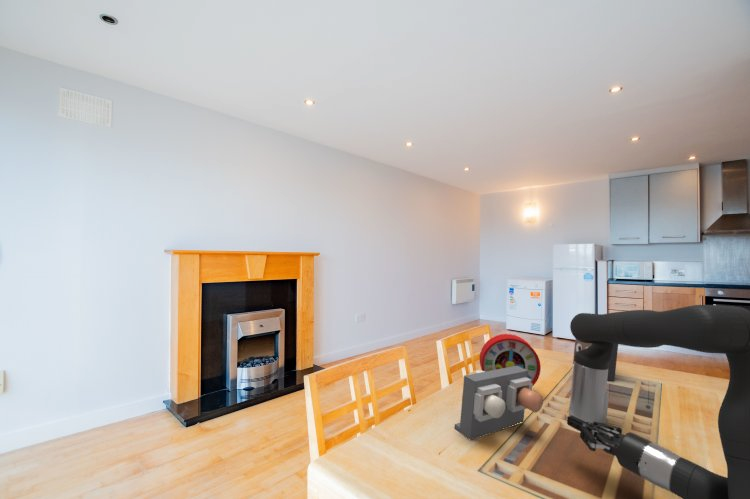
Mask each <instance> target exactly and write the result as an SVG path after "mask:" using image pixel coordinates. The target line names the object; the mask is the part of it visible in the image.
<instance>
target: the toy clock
mask: <svg viewBox="0 0 750 499" xmlns="http://www.w3.org/2000/svg"><path fill="white" fill-rule="evenodd" d="M479 365H480V369H481V371H485V372H486V371H491V370H497V369H502V368H507V367H513V366H519V367H521V368H523V369H526V370H528V378H529V379H531V384H533V385H532V387H533V386H535V384H536V383H537V382H538V380H539V378H540V375H541V367H542V366H541V365H542V364H541V361H540V358H539V355H538V354H537V352H536V351H535V350H534V348H533V347H532V346H531V344H529V343H528V342H527V341H526V340H525V339H524V338H522V337H520V336H518V335H515V334H513V333H512V334H511V333H502V334H498V335H495V336H493V337H491V338H490V339H488V340H487V341H486V342H485V343H484V344H483V345H482V347H481V351H480V352H479Z"/></svg>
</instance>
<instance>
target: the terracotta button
mask: <svg viewBox="0 0 750 499" xmlns="http://www.w3.org/2000/svg"><path fill="white" fill-rule="evenodd" d="M517 399H518V403H519V404H520V405H522V406H524V407H525V408H527V410H529V411H531V412H533V413H535V414H536V413H539V412H540V410H541V409H542V408H543V405H544V397H543V396H542V395H541V394H540V393H537V392H536V391H534V390H533V389H532V390H530V389H528V388H522V389H521V390H520V392H519V394H518V398H517Z"/></svg>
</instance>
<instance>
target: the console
mask: <svg viewBox="0 0 750 499" xmlns="http://www.w3.org/2000/svg"><path fill="white" fill-rule="evenodd" d="M532 385H533V384H531V379H529V378H528V370H526V369H523V368H521V367H519V366H513V367H507V368H502V369H497V370H491V371H486V372H481V373H476V372H475V373H472V374H471V373H470V374H466V375H463V386H462V398H461V410H460V421H459V422H457V423H454V429H455V430H456V431H457V432H458V433H460V434H461V435H463V437H465V438H467V439H468V440H469V439H470V440H469V441H471V440H474V439H477V437H478V438H480V436H481V437H484V436H486V434H487V435H490V434H493V433H496V432H499V431H498V430H500V431H502V430H501V429H503V428H506V427H509V426H512V425H515V424H517V423H520V422H523V423H524V422H525V421H524V420H525V411H526V409H527V408H525V407H524V406H522V405H520V404H519V403H518V399H517V398H518V394H519V392H520V390H521V389H522V388H528V389H530V390H532V391H533V386H534V385H533V386H532ZM488 394H493V395H495V396H497V397H499V398H501V399H502V400H504V402H505V411H504V413H503V415H502V416H501V417H499V418H494V417H493V416H491V415H490V414H488V413H486V412H485V411H483V405H484V395H488ZM527 410H528V409H527ZM515 426H516V425H515ZM512 427H513V426H512ZM509 428H510V427H509ZM506 429H507V428H506ZM503 430H504V429H503ZM495 431H496V432H495ZM492 432H493V433H492ZM489 433H490V434H489ZM483 435H484V436H483Z"/></svg>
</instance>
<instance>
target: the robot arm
mask: <svg viewBox="0 0 750 499" xmlns="http://www.w3.org/2000/svg"><path fill="white" fill-rule="evenodd" d="M569 327H570V333H571V334H572V336H573V337H574V339H575V338H576V339H577V340H578V341H581V342H584V343H592V345H591V346H589V347H588V348H586V349H584V350H580V351H577V352H576V353H575V357H574V356H573V358H574V366H573V368H572V370H573V371H572V377H571V378H572V379H571V388H570V397H569V398H570V400H569V405H568V406H569V407H568V408H569V409H568V414H569V416H567V418H566V424H567V425H568V426H569V427H571V428H573V429H575V430H577V431H579V432H580V434H579V437H580V439H581V440H582V442H583V443H584V444H585V445H586V447H587V448H588V449H589V450H590V451H592V452H596V450H597V449H599V450H601V449H602V451H604V452H605V453H607V454H610V455H612V456H615V457H616V459H617V462H618V464H619V465H620V466H621V467H623V468H624V469H626V470H628V471H629V472H632V473H633V474H635V475H637V476H639V477H641V478H642V479H644V480H646V481H648V482H650V483H652V484H653V485H655V486H657V487H658V488H661V489H663V490H666V491H668V492H670V493H672V494H674V495H675V496H677V497H679V498H682V499H750V310H749V309H747V308H745V307H741V306H733V305H720V304H718V305H717V304H694V305H688V306H683V307H679V308H674V309H673V308H672V309H668V310H662V311H657V310H651V309H636V310H635V309H633V310H624V311H617V312H616V311H615V312H609V313H603V314H602V313H601V314H599V313H591V312H589V313H588V312H581V313H577V314H576V315H574V316H573V318H572V319H571V321H570V325H569ZM614 343H615V344H618V345H620V346H627V347H635V348H646V349H647V348H648V349H649V348H650V349H652V348H659V347H662V346H671V347H677V348H680V349H681V348H682V349H686V350H689V351H696V352H699V353H700V352H701V353H707V354H723V355H724V354H725V356H726V359H727V363H728V366H729V367H728V368H729V381H728V386H727V388H726V389H727V390H726V392H725V395H724V397H723V399H722V402H721V405H720V407H719V411H718V414H717V415H718V417H717V427H718V433H719V438H720V443H721V448H722V453H723V456H724V460H725V462H726V467H727V468H726V470H727V473H726V474H727V476H723V475H720V474H718V473H716V472H712V471H711V470H709V469H707V468H705V467H703V466H701V465H699V464H697V463H694V462H693V461H690V460H688V459H686V458H684V457H682V456H680V455H679V454H676V453H675V452H673V451H672V450H670V449H668V448H665V447H664V446H661V445H659V444H658V443H655V442H653V441H651V440H649V439H647V438H644V437H642V436H640V435H638V434H636V433H634V432H627V433H624V434H623V428H621V427H619V426H614V425H612V424H611V425H610V424H607V419H608V418H607V417H608V408H609V398H610V393H609V392H608V391H607V385H608V381H607V377H608V368H609V363H610V361H611V359H612V354H613V347H614Z"/></svg>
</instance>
